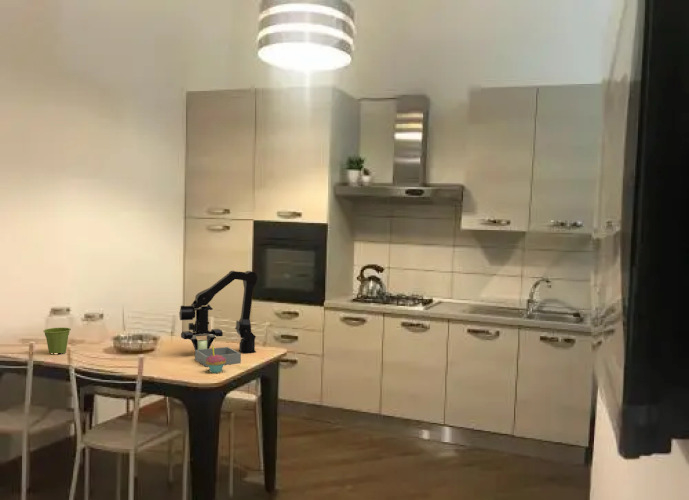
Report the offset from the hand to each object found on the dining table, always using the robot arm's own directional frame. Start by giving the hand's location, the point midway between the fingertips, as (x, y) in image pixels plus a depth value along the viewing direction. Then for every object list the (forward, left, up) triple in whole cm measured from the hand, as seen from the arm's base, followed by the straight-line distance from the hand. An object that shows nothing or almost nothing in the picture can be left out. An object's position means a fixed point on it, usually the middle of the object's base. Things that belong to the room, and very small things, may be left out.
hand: (201, 351), depth 296 cm
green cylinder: (0, 0, -2) cm, 2 cm away
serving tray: (-2, +16, -2) cm, 16 cm away
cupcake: (+5, +33, -2) cm, 33 cm away
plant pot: (+59, -34, -2) cm, 68 cm away
